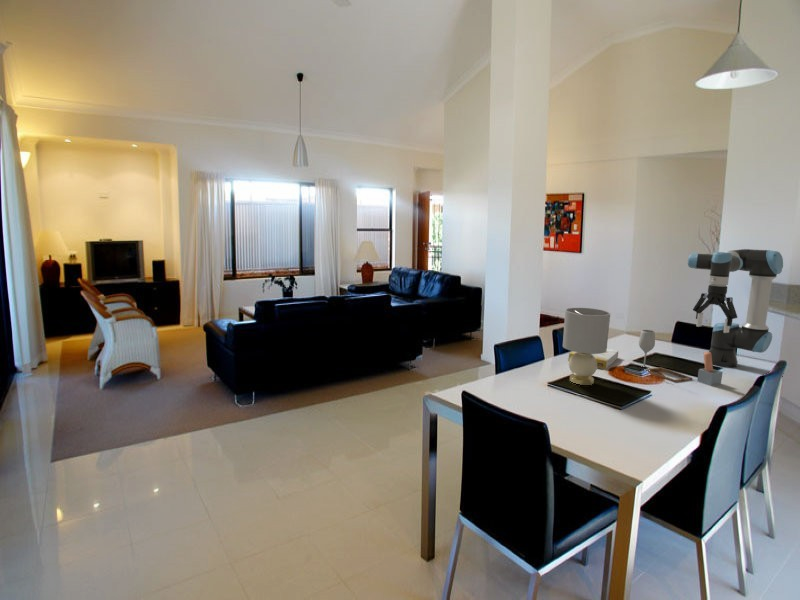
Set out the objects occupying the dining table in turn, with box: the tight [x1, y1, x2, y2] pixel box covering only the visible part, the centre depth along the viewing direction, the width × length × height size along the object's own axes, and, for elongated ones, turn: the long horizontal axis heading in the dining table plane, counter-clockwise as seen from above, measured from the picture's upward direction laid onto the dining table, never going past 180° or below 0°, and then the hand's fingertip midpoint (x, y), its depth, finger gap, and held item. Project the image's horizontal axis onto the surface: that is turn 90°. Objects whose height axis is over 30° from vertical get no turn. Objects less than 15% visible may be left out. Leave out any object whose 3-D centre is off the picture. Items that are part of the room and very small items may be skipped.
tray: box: [644, 366, 693, 386], centre depth 247 cm, size 12×18×2 cm, turn 22°
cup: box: [696, 367, 723, 387], centre depth 237 cm, size 7×7×8 cm
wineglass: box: [638, 329, 656, 367], centre depth 260 cm, size 8×8×21 cm
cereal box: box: [567, 348, 619, 370], centre depth 276 cm, size 20×6×28 cm
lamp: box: [562, 307, 611, 386], centre depth 235 cm, size 20×20×35 cm
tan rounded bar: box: [703, 351, 714, 373], centre depth 235 cm, size 8×3×16 cm, turn 112°
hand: (712, 329), depth 232 cm, fingers open, 13 cm apart
